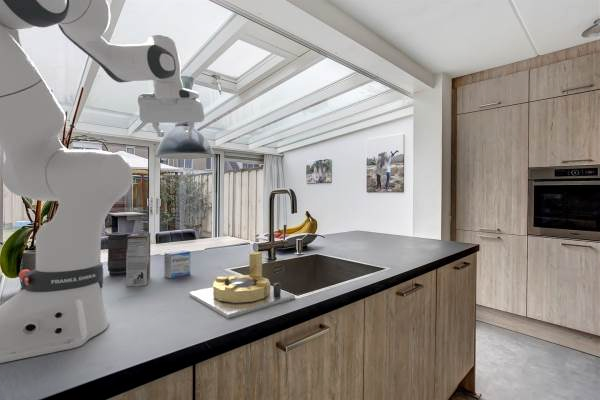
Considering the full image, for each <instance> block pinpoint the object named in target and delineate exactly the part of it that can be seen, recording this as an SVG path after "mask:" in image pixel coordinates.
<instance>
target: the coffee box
mask: <svg viewBox="0 0 600 400" xmlns="http://www.w3.org/2000/svg"><path fill="white" fill-rule="evenodd" d="M130 233H131V234H129V235H128V236H127V237H126V238H127V255H126V275H125V277H126V278H125V281H126V283H125V284H126V285H125V286H126V288H128V287H138V286H139V287H141V286H148V284H149V282H150V279H151V232H130Z"/></svg>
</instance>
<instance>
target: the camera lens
mask: <svg viewBox="0 0 600 400" xmlns="http://www.w3.org/2000/svg"><path fill="white" fill-rule="evenodd" d="M131 233H132V232H116V233H109V234H108V235H107V271H108V272H109V274H108V275H109V276H110V277H113V278H114V277H126V255H127V238H126V237H127V236H128V235H129V234H131Z"/></svg>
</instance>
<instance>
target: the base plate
mask: <svg viewBox="0 0 600 400" xmlns="http://www.w3.org/2000/svg"><path fill="white" fill-rule="evenodd" d="M230 284H233V285H237V288H245V287H251V286H254V281H253V280H251V279H235V280H232V281H230ZM281 284H282V283H281V282H274V283H273V286H271V285H270V294H269V295H267V296H266V297H265V298H263V299H259V300H255V301H252V302H238V303H234V302H226V301H220V300H218V299H216V298H215V297H213V286H212V287H208V288H203V289H198V290H194V291H189V293H188V295H189V297H191V298H192V299H194V300H196V301H197V302H199V303H200V304H202V305H204V306H206V308H207V307H208V308H209V309H210V310H213V311H214V312H216V313H217V314H219V315H221V316H222V317H224V318H226V319H230V318H231V319H232V318H234V317H238V316H241V315H244V314H247V313H250V312H251V313H252V312H254V311H258V310H261V309H265V308H267V307H272V306H274V305H278V304H281V303H285V302H288V301H290V299H291V300H294V298H295V299H296V294H293V293H290V292H287V291H286V290H282V288H281V287H282V285H281ZM287 300H288V301H287ZM284 301H285V302H284Z"/></svg>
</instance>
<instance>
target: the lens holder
mask: <svg viewBox="0 0 600 400" xmlns="http://www.w3.org/2000/svg"><path fill="white" fill-rule="evenodd" d="M248 270H249V272H248V273H249V274H244V275H242V274H241V275H230V276H222V275H221V276H217V277H216V278H215V281H213V285H212V287H213V297H215V298H216V299H218V300H220V301H226V302H234V303H238V302H252V301H255V300H259V299H263V298H265V297H266V296H267V295H269V294H270V286H271V282H270V279H269V278H266V277H263V251H252V252H251V253H249V269H248ZM235 279H251V280H253V281H254V286H251V287H245V288H237V285H233V284H230V281H232V280H235Z"/></svg>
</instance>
